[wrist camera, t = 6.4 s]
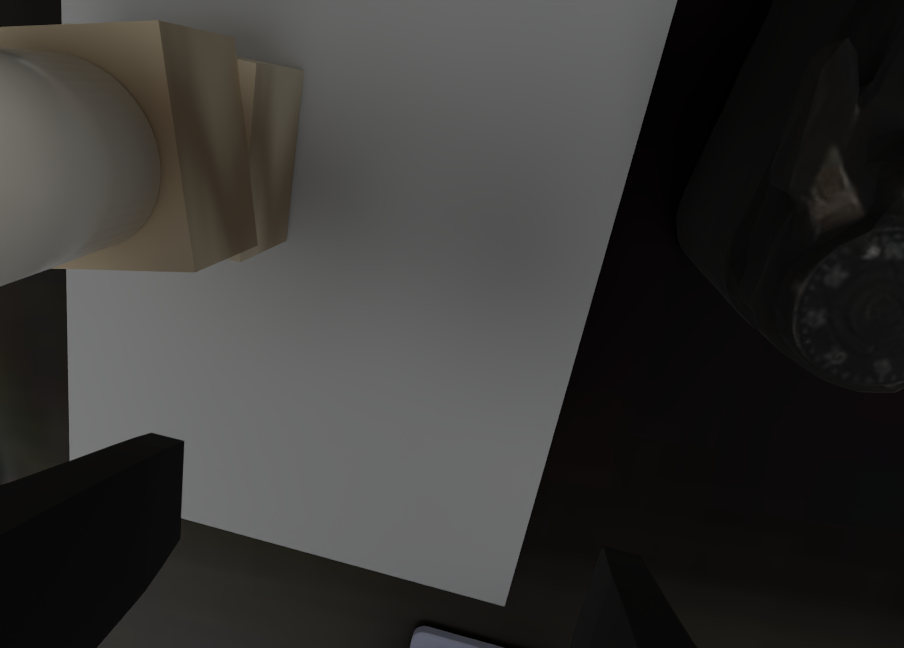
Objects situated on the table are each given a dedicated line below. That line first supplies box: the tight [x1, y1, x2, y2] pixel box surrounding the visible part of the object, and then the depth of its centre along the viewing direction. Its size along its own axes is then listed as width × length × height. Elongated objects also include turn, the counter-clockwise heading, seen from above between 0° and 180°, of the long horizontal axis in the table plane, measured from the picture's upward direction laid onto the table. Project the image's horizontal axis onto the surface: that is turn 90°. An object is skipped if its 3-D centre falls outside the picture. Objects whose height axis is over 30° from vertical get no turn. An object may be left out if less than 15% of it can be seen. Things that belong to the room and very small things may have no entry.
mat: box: [61, 0, 677, 606], centre depth 20 cm, size 20×17×1 cm
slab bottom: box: [65, 23, 304, 262], centre depth 18 cm, size 5×5×3 cm
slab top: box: [0, 20, 258, 273], centre depth 15 cm, size 5×5×3 cm
